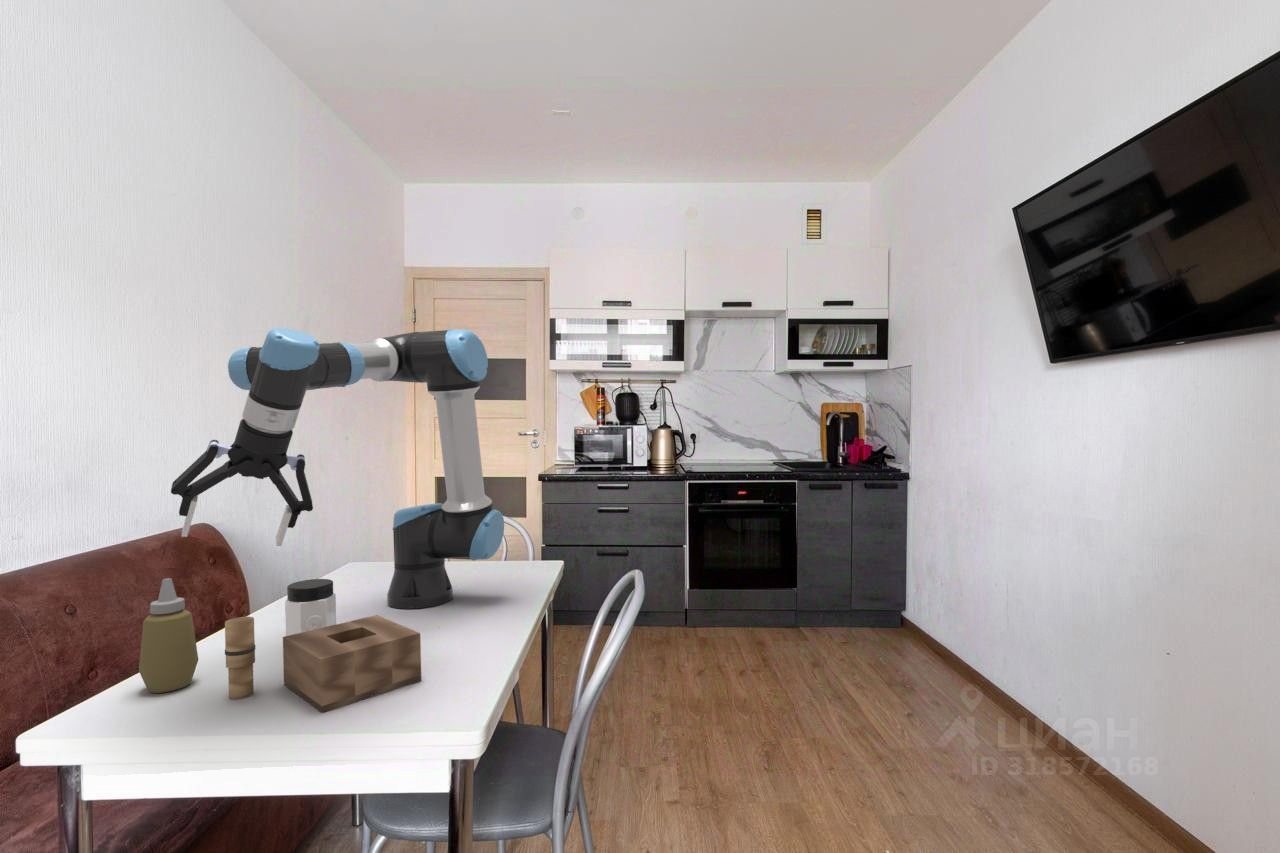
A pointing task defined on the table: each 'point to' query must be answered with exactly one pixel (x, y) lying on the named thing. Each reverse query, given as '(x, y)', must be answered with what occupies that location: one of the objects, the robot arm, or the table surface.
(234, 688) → the oak peg
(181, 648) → the squeeze bottle
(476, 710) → the table surface
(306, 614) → the jar
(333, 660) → the walnut socket block
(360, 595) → the table surface
